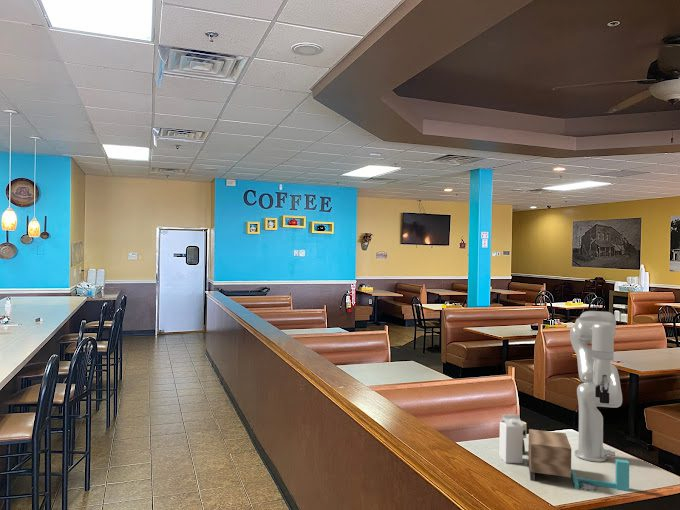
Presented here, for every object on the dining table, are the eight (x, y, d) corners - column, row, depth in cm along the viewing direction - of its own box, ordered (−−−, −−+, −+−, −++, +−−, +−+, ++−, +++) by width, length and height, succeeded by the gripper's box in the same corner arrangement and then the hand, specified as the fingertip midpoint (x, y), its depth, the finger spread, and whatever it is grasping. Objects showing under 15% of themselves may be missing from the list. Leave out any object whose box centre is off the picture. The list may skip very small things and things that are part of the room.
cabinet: (565, 468, 209) (565, 433, 210) (570, 487, 190) (571, 448, 191) (528, 463, 214) (528, 429, 214) (530, 481, 195) (531, 443, 195)
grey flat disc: (574, 484, 194) (574, 481, 194) (590, 484, 194) (590, 481, 194) (582, 491, 188) (582, 487, 188) (598, 491, 188) (598, 488, 188)
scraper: (624, 482, 196) (624, 455, 197) (632, 497, 183) (632, 468, 184) (571, 474, 202) (571, 449, 203) (574, 488, 189) (575, 460, 190)
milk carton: (499, 457, 220) (499, 412, 221) (515, 457, 221) (515, 412, 221) (505, 463, 213) (506, 416, 214) (522, 463, 214) (523, 416, 214)
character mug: (525, 457, 221) (525, 426, 221) (507, 454, 224) (508, 424, 224) (526, 449, 231) (527, 420, 232) (510, 447, 234) (510, 418, 234)
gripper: (588, 351, 209) (588, 394, 209) (595, 358, 193) (595, 404, 192) (609, 353, 207) (608, 396, 206) (617, 359, 191) (617, 406, 190)
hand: (602, 400), depth 199 cm, fingers open, 9 cm apart
